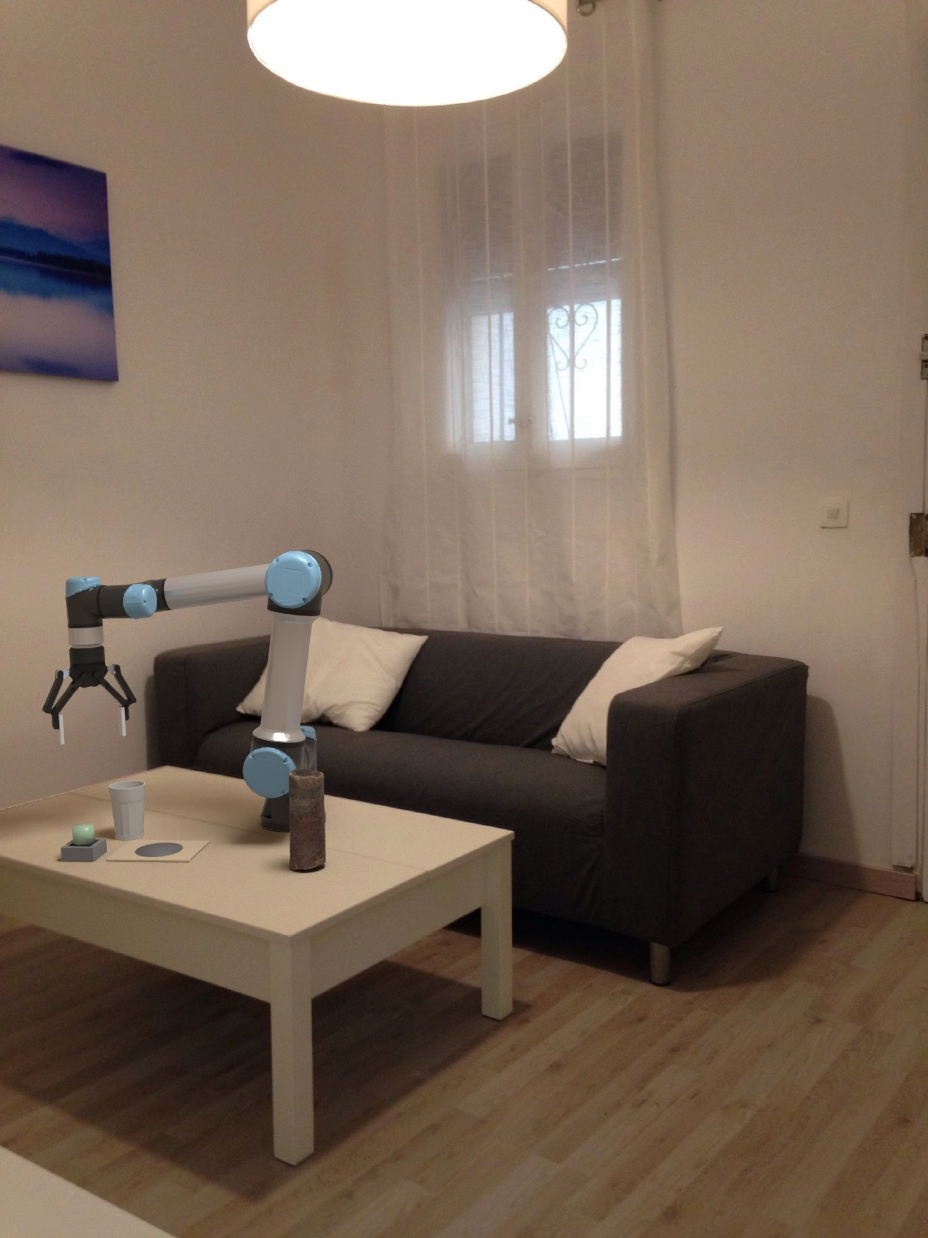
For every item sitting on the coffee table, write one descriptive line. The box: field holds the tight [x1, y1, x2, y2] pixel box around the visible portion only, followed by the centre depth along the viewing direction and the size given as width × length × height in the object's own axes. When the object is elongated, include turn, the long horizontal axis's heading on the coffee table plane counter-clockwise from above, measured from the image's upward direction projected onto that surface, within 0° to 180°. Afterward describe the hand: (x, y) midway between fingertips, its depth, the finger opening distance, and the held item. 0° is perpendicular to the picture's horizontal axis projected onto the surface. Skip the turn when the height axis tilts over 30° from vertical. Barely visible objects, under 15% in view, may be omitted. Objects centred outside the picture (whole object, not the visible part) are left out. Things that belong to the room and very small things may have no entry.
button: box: [71, 822, 95, 845], centre depth 239 cm, size 4×4×4 cm
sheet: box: [105, 839, 211, 863], centre depth 242 cm, size 18×14×1 cm
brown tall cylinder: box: [289, 769, 327, 871], centre depth 229 cm, size 8×7×20 cm
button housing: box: [60, 837, 108, 863], centre depth 239 cm, size 7×7×3 cm
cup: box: [108, 780, 146, 842], centre depth 253 cm, size 8×8×12 cm
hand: (92, 739), depth 252 cm, fingers open, 13 cm apart
